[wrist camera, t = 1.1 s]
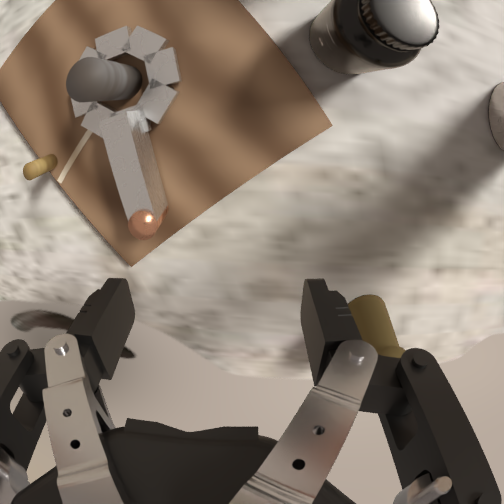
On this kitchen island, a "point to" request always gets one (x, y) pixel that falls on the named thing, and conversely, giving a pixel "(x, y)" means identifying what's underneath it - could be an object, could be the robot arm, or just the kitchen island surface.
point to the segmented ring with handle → (135, 125)
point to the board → (176, 119)
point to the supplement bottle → (372, 33)
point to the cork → (375, 325)
